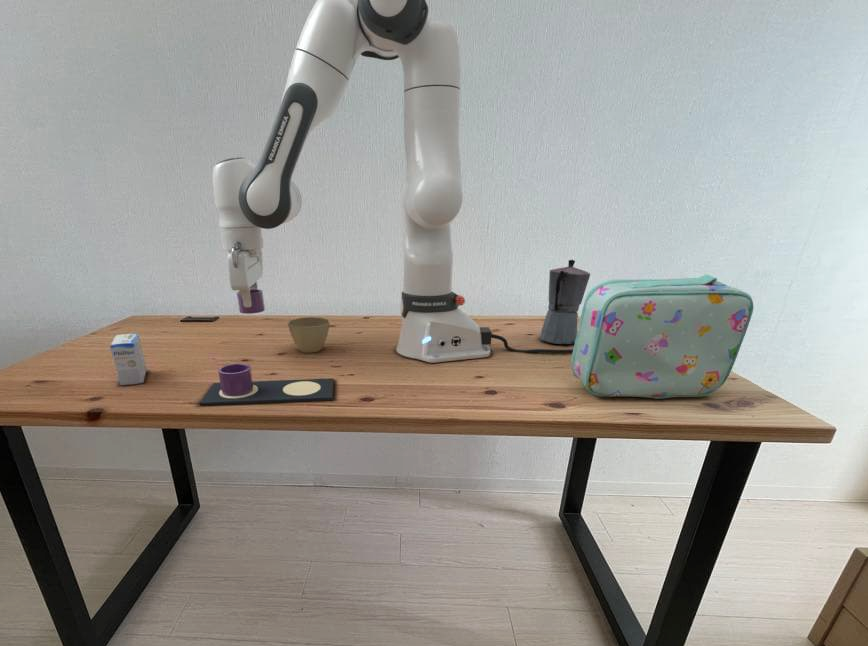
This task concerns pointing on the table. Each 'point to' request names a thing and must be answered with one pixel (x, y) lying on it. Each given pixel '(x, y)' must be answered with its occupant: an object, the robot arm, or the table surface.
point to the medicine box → (128, 359)
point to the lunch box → (659, 337)
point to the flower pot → (309, 333)
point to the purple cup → (256, 300)
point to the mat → (274, 392)
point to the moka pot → (564, 304)
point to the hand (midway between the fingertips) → (251, 303)
